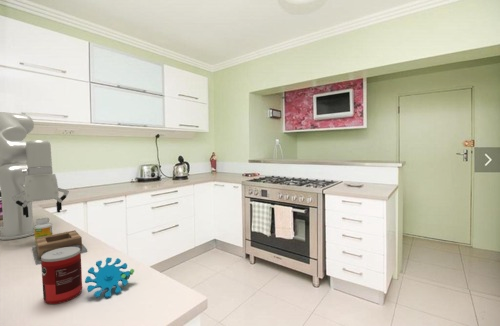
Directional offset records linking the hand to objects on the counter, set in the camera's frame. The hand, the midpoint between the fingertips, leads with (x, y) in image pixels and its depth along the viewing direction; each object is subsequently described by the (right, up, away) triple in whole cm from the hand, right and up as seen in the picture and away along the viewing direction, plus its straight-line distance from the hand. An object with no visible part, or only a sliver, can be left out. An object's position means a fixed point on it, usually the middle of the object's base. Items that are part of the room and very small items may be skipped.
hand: (43, 214), depth 98 cm
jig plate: (+12, -12, -8) cm, 19 cm away
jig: (+12, -12, -8) cm, 19 cm away
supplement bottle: (0, -12, +1) cm, 12 cm away
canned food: (+36, -13, -36) cm, 52 cm away
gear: (+46, -13, -34) cm, 59 cm away
